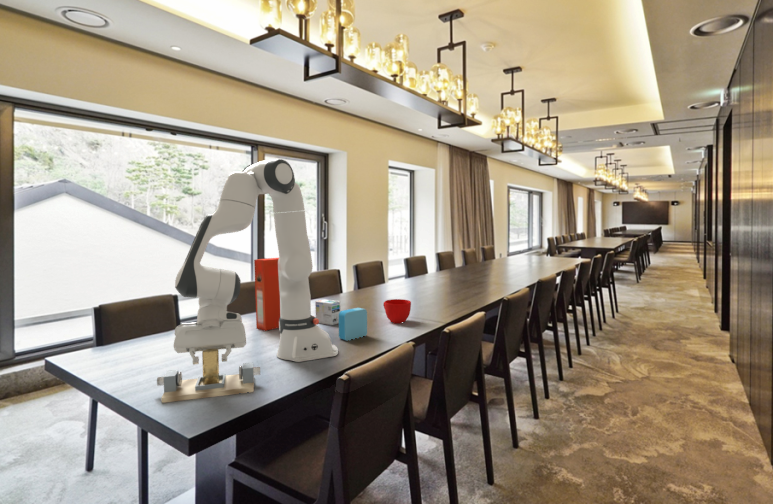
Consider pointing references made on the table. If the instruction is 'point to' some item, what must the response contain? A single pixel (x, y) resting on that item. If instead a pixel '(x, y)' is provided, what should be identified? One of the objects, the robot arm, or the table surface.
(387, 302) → the ceramic cup
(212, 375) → the cylinder
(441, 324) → the table surface
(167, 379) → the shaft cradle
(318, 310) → the light bulb box
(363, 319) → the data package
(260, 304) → the file binder
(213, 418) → the table surface
